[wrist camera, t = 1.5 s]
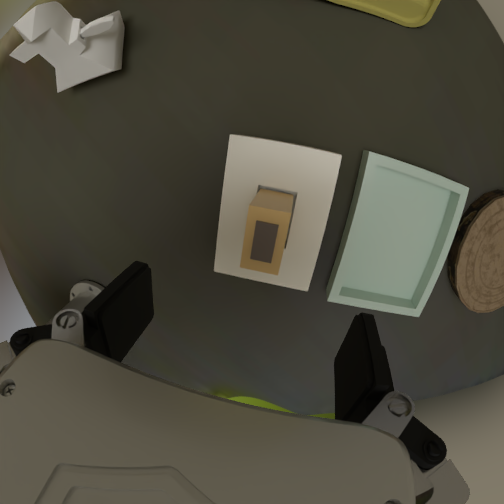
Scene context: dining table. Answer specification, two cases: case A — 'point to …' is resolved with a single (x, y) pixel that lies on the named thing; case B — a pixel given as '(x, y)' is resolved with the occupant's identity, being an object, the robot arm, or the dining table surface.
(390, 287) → the tray
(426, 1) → the plastic component
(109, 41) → the white faceted figurine
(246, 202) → the block
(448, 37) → the dining table surface
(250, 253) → the tan rectangular block
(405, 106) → the dining table surface
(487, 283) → the wood slice coaster
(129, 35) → the dining table surface
